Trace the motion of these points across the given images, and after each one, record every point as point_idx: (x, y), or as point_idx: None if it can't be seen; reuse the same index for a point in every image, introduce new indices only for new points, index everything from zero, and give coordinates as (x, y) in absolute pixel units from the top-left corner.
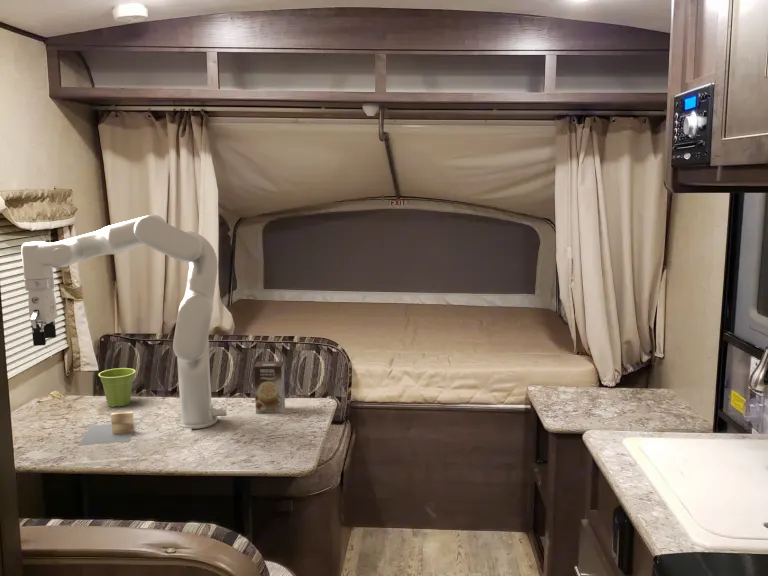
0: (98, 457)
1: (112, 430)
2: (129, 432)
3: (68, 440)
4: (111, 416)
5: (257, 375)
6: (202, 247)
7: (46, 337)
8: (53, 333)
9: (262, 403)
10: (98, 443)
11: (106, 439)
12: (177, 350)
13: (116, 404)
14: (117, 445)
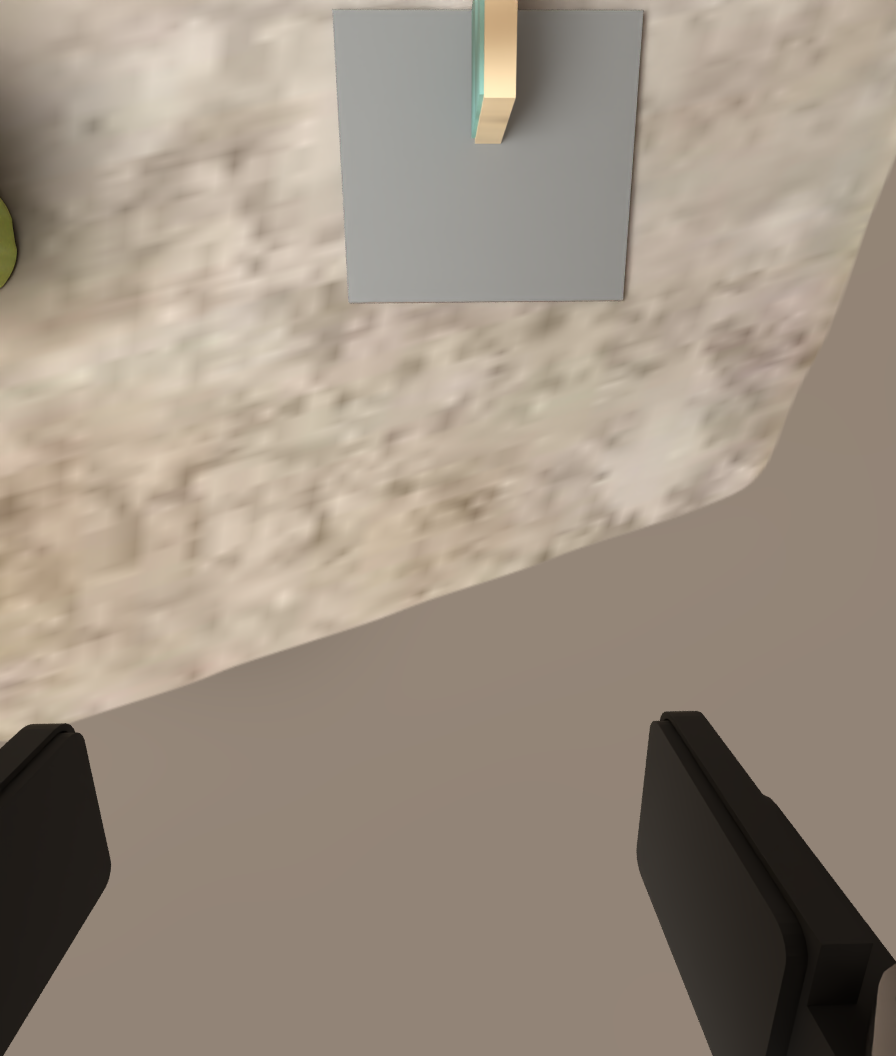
0: (787, 155)
1: (502, 136)
2: None
3: (512, 374)
4: (514, 100)
5: None
6: None
7: (104, 855)
8: (33, 801)
9: None
10: (628, 192)
11: (582, 159)
12: None
13: (9, 229)
14: (653, 84)
